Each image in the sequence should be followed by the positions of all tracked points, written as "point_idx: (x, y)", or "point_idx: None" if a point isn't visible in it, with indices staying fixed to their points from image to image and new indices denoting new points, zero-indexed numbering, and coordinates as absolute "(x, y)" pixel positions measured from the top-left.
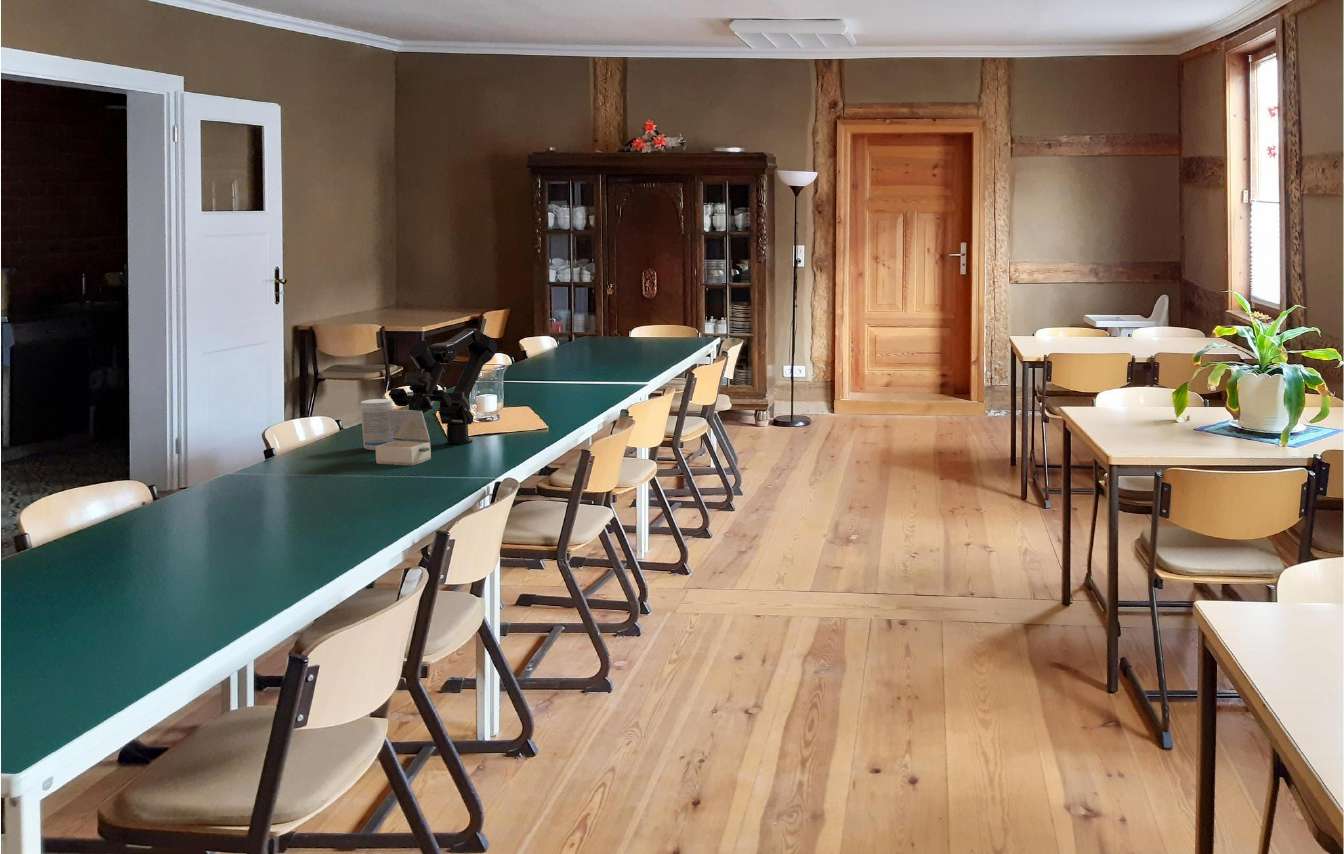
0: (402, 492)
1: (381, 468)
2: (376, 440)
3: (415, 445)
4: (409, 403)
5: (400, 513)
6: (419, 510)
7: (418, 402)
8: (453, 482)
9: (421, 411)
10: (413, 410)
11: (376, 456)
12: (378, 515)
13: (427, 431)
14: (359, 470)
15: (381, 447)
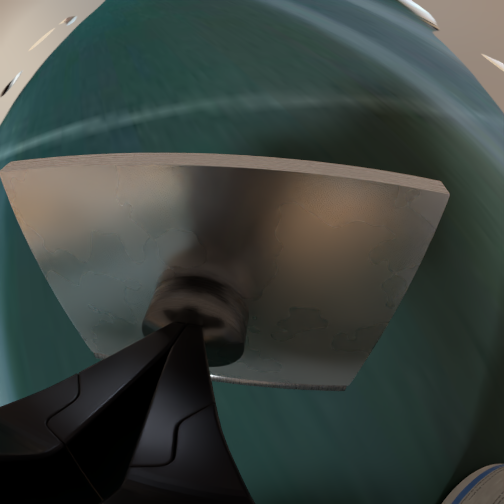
0: (122, 50)
1: None
2: (488, 480)
3: None
4: (220, 494)
5: (110, 17)
6: (91, 26)
7: (3, 436)
8: (42, 112)
9: (6, 169)
10: (65, 164)
11: None
12: (132, 8)
13: (72, 317)
14: (313, 145)
15: None
